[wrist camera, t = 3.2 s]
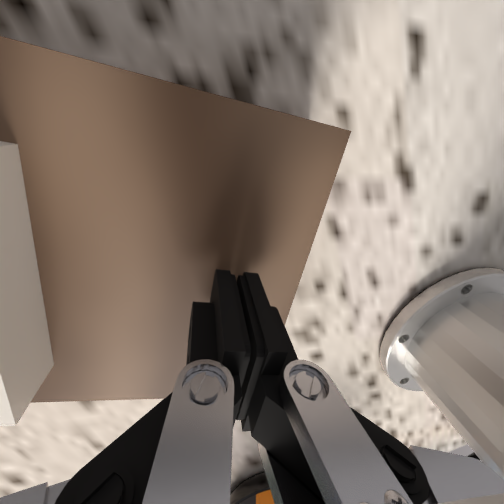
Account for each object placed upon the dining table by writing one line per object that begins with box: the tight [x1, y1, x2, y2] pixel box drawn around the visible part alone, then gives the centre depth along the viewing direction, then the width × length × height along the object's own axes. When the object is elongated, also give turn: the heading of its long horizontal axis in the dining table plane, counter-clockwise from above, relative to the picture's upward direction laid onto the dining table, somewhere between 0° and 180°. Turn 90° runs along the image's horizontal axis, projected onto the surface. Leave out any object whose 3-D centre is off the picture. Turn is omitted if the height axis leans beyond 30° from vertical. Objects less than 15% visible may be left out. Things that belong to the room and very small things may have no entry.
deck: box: [0, 36, 351, 402], centre depth 10 cm, size 22×14×4 cm, turn 77°
